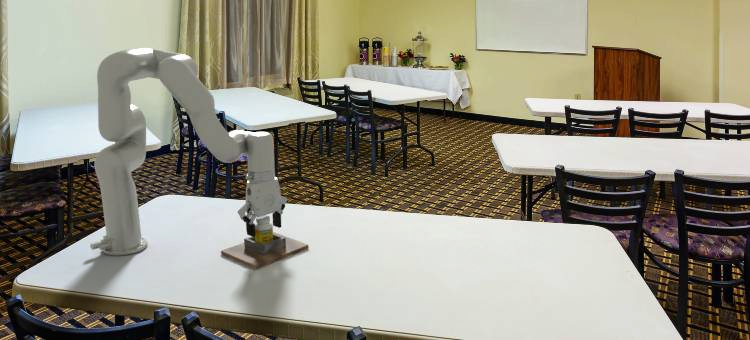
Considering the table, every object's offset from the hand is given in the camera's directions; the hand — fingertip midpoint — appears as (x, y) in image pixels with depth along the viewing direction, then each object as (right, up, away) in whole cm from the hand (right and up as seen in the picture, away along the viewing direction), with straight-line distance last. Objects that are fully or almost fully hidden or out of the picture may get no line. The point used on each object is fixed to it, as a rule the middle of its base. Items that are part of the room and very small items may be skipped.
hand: (264, 231), depth 175 cm
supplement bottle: (0, -5, +1) cm, 6 cm away
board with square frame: (0, -6, +2) cm, 6 cm away
